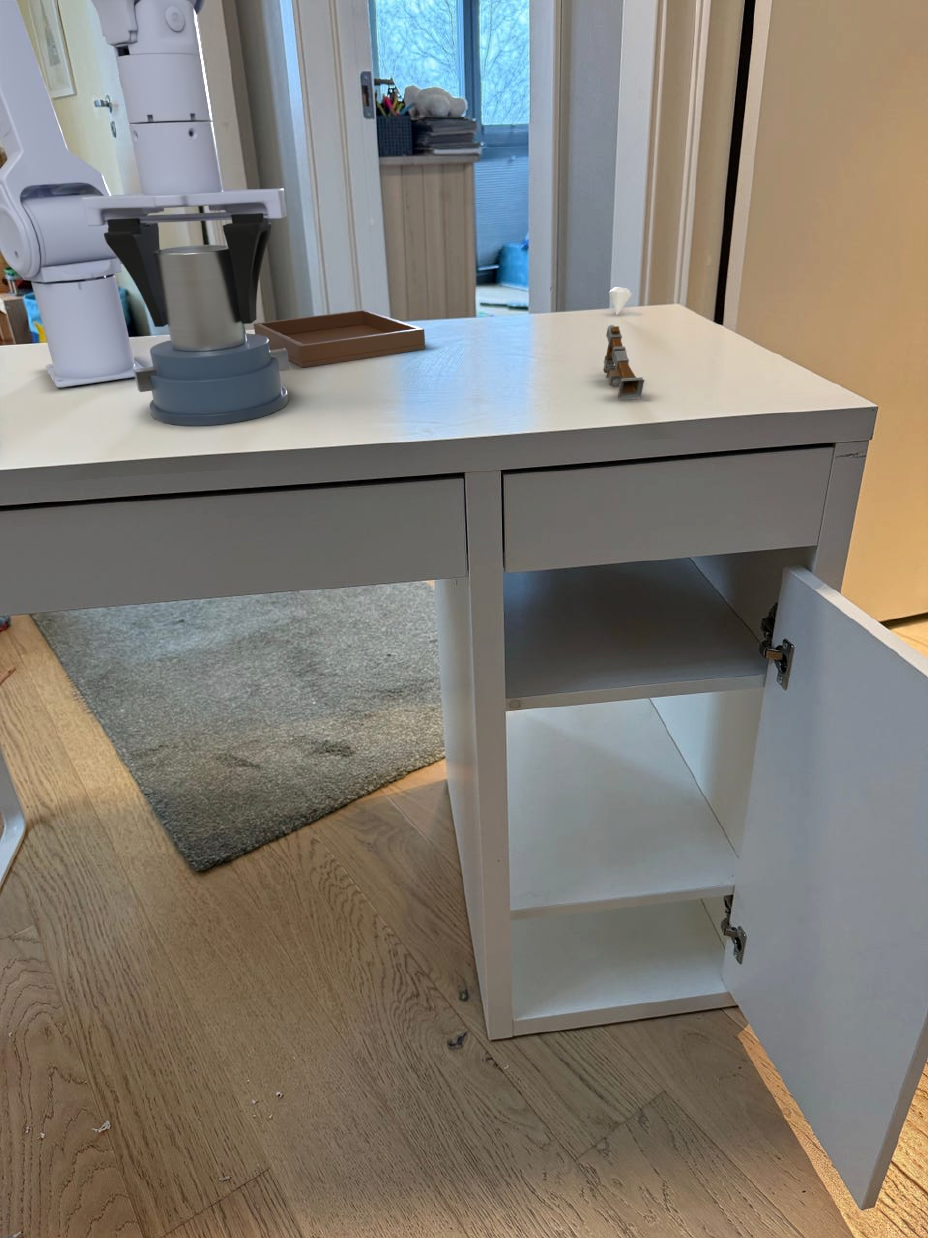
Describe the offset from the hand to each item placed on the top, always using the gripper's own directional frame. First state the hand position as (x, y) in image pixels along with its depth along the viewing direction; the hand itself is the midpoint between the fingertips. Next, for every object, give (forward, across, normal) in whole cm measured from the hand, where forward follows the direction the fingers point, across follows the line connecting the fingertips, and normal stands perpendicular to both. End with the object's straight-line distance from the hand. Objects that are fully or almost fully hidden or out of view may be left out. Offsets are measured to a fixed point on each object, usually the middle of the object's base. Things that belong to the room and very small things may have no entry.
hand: (206, 323), depth 67 cm
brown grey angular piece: (+7, +33, +2) cm, 33 cm away
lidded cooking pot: (+7, 0, 0) cm, 7 cm away
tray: (+7, +6, +23) cm, 25 cm away
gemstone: (+7, +37, +35) cm, 52 cm away
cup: (+2, 0, 0) cm, 2 cm away
